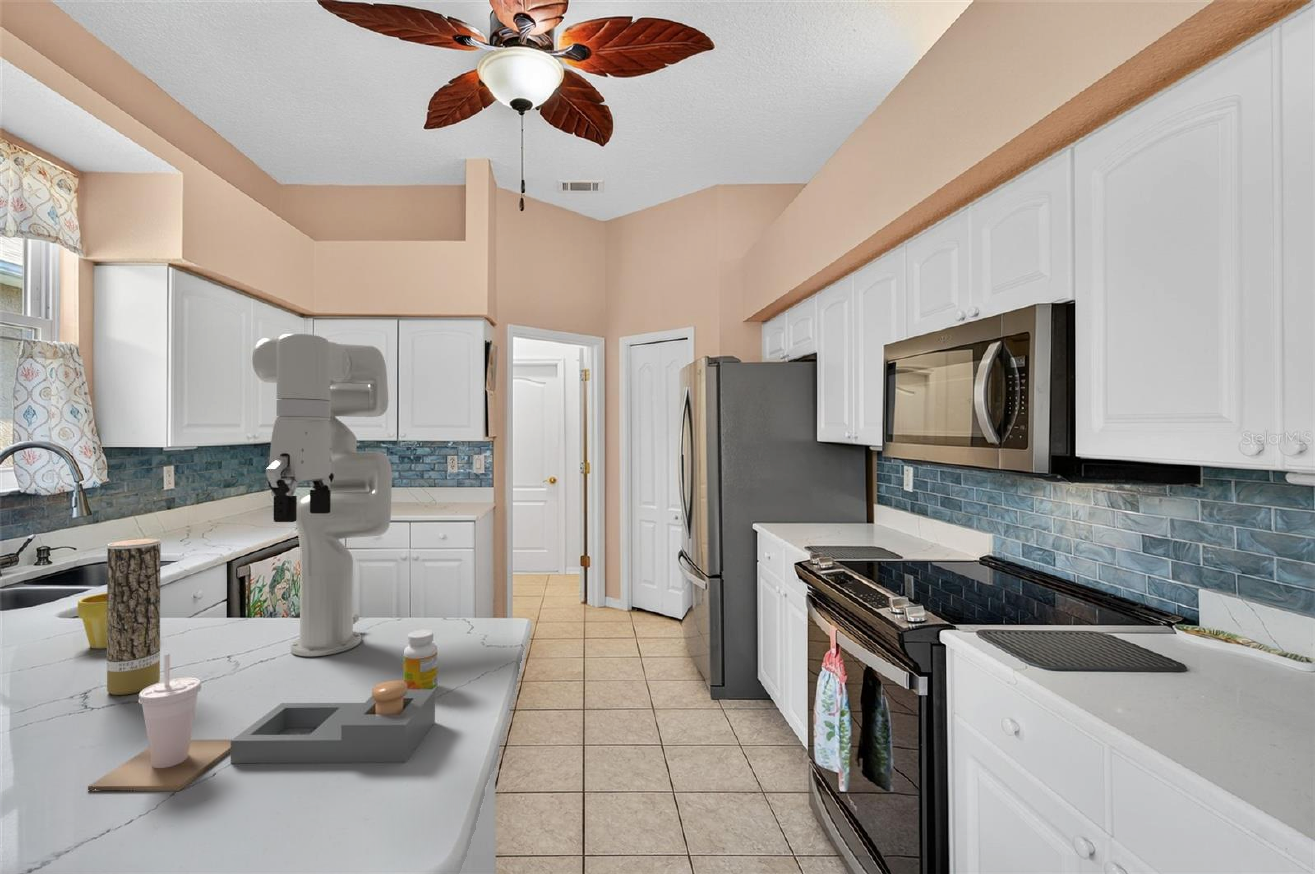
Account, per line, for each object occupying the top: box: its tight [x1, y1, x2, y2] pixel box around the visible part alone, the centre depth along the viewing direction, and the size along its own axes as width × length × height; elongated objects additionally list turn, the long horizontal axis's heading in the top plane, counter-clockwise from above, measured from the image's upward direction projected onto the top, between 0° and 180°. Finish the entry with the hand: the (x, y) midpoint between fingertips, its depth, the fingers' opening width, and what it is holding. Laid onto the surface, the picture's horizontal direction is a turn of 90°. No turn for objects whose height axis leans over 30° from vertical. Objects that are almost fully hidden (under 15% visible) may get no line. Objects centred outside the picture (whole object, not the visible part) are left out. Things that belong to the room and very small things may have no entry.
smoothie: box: [138, 652, 202, 768], centre depth 78 cm, size 6×6×14 cm
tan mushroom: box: [371, 680, 407, 714], centre depth 84 cm, size 5×5×7 cm
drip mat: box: [87, 738, 232, 792], centre depth 78 cm, size 11×11×1 cm
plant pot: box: [77, 592, 107, 650], centre depth 122 cm, size 10×10×10 cm
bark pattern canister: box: [106, 538, 162, 696], centre depth 101 cm, size 7×7×25 cm
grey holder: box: [230, 689, 436, 764], centre depth 84 cm, size 11×23×5 cm, turn 91°
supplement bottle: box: [403, 629, 438, 690], centre depth 101 cm, size 5×5×10 cm
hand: (303, 517), depth 96 cm, fingers open, 9 cm apart
